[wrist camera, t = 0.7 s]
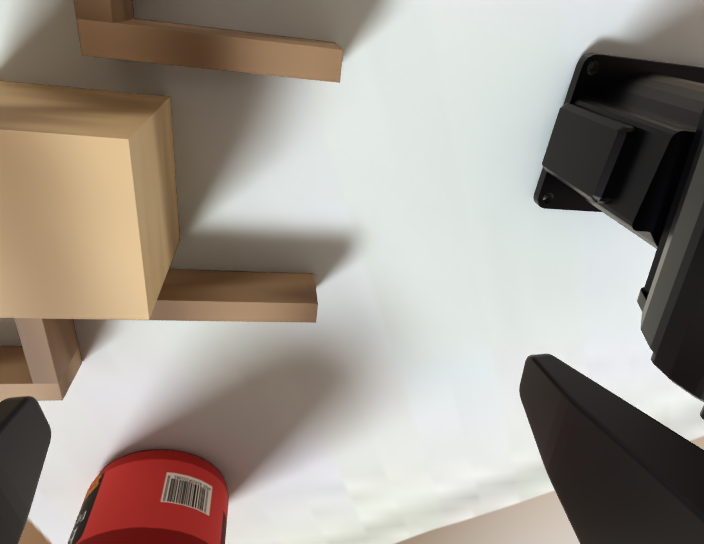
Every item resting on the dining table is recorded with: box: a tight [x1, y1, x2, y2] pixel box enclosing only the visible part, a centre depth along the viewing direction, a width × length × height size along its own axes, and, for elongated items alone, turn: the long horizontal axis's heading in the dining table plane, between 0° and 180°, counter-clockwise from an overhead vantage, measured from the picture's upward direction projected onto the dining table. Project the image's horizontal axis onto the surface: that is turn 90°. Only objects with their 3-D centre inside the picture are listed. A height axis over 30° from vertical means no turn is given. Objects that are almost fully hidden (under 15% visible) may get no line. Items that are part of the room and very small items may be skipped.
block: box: [0, 81, 180, 320], centre depth 16 cm, size 6×6×6 cm
